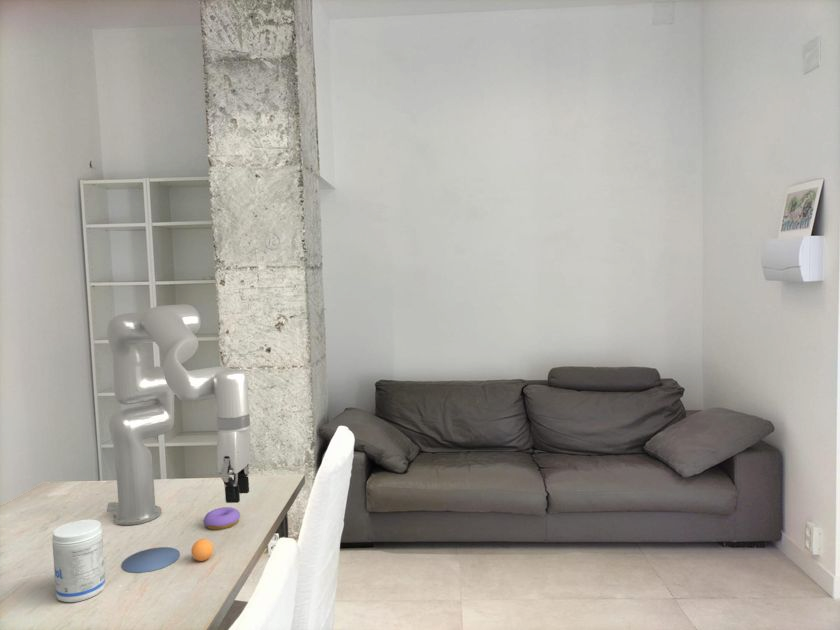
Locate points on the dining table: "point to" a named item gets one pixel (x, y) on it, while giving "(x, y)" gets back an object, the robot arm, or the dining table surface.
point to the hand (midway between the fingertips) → (237, 496)
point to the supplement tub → (78, 560)
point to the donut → (221, 518)
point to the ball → (202, 549)
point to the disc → (150, 559)
